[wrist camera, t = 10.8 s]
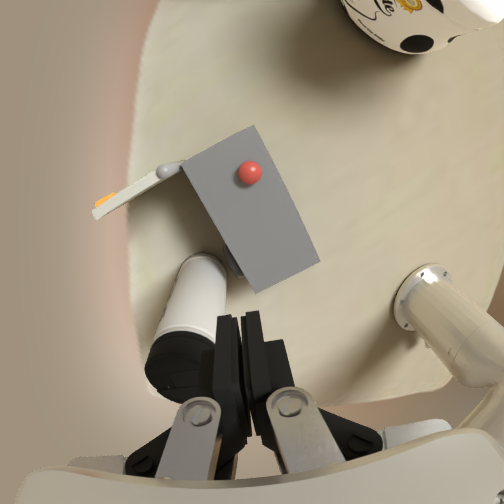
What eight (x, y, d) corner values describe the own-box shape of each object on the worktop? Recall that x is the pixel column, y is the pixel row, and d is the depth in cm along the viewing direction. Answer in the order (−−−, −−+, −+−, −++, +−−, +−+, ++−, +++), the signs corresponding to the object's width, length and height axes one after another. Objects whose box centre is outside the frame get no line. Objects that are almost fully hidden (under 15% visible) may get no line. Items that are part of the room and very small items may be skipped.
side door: (131, 200, 33) (96, 221, 23) (126, 189, 32) (88, 207, 23) (190, 167, 32) (171, 174, 22) (184, 155, 32) (163, 158, 22)
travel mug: (235, 287, 38) (239, 404, 20) (190, 300, 39) (164, 416, 20) (220, 245, 36) (209, 349, 17) (173, 260, 36) (125, 365, 18)
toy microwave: (306, 242, 37) (322, 264, 30) (244, 273, 38) (246, 301, 31) (249, 129, 31) (254, 123, 24) (182, 165, 32) (168, 170, 25)
